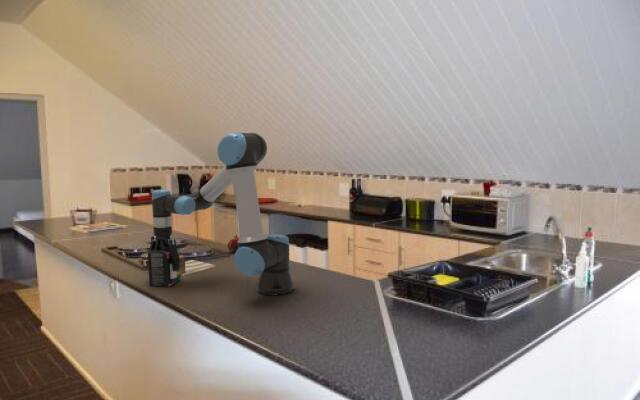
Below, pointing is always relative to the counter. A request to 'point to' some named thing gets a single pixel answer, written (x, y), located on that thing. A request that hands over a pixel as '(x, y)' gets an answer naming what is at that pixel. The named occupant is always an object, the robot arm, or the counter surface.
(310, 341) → the counter surface
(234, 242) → the fruit
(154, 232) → the robot arm
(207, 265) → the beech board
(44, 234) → the counter surface
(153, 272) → the tampon box
